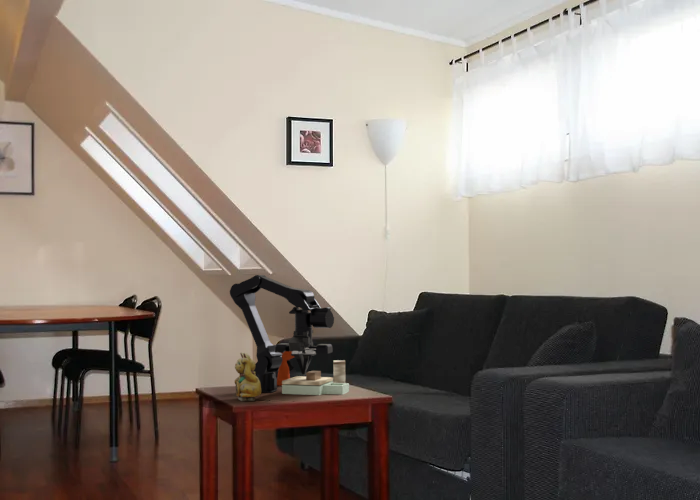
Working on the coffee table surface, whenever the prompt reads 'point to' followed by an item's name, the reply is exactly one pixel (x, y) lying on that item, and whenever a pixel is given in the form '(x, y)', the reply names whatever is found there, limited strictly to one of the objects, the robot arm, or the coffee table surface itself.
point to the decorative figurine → (246, 379)
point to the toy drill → (285, 367)
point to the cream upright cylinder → (339, 371)
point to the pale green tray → (316, 389)
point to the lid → (309, 379)
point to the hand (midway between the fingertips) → (303, 374)
